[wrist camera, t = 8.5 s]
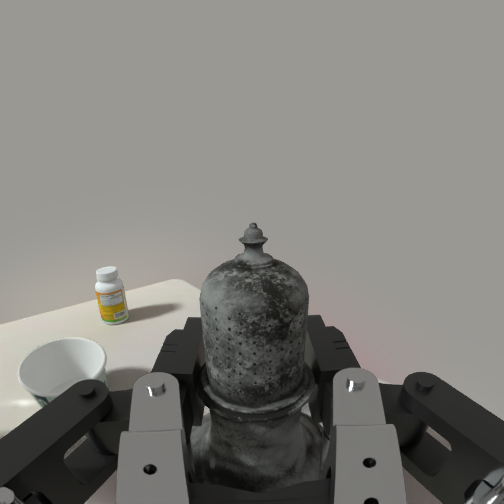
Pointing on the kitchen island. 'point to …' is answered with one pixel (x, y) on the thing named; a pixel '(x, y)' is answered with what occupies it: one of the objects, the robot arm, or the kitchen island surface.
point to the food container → (61, 367)
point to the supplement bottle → (111, 296)
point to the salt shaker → (255, 375)
